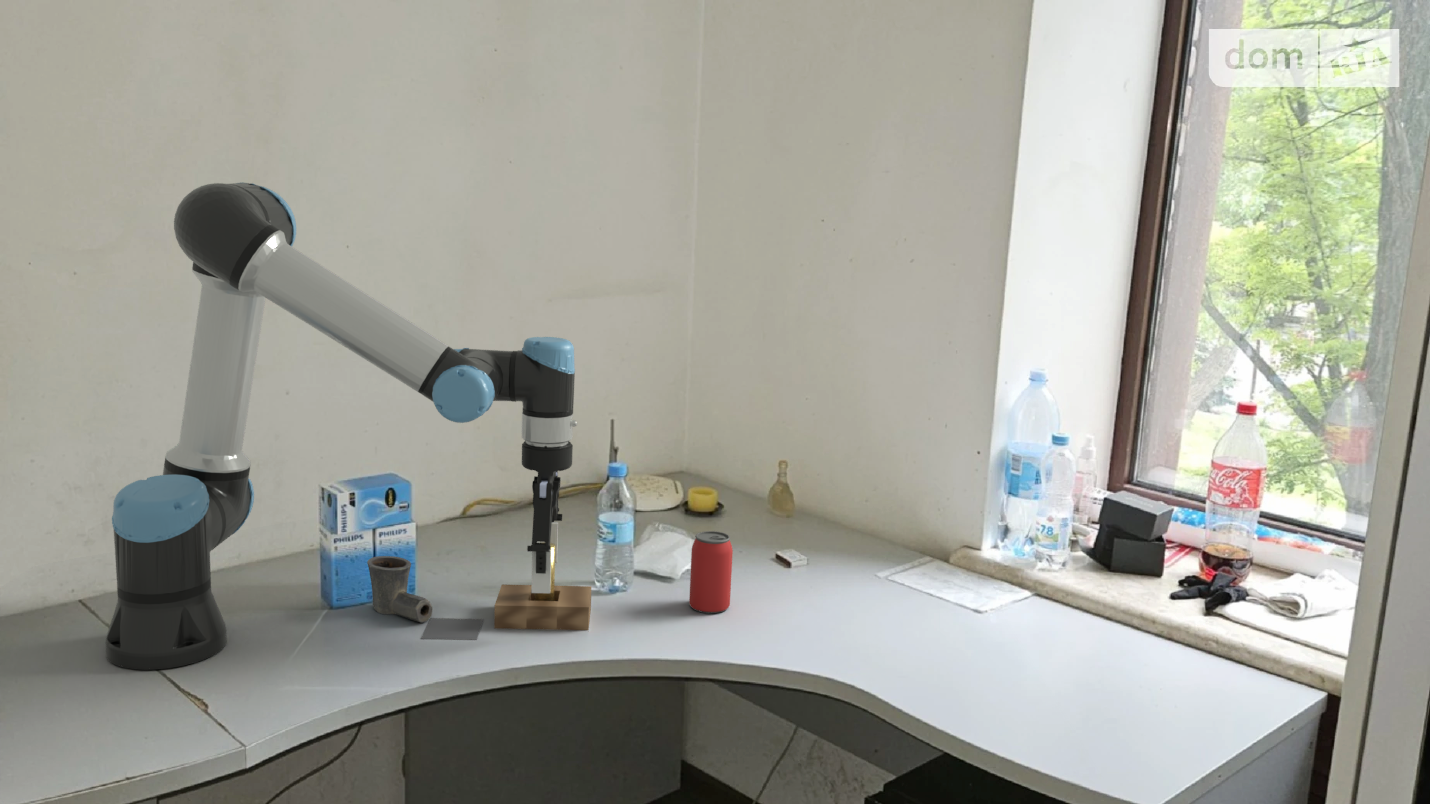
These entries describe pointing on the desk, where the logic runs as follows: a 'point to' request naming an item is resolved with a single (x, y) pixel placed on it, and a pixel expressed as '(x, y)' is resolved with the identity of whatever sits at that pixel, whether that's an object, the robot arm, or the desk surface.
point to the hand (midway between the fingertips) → (544, 576)
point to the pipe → (396, 589)
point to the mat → (452, 629)
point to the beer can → (711, 572)
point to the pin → (551, 595)
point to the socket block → (543, 608)
